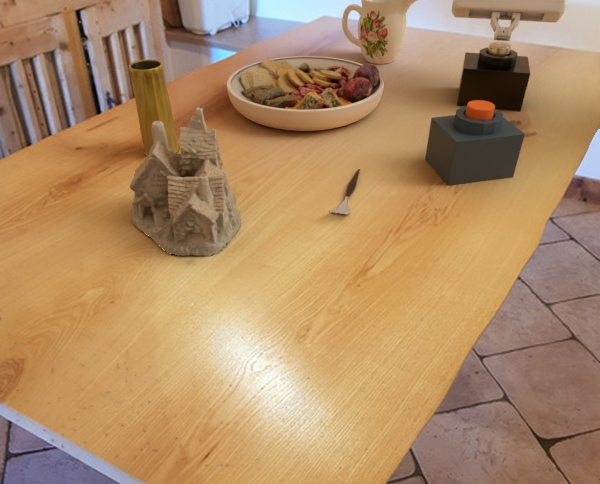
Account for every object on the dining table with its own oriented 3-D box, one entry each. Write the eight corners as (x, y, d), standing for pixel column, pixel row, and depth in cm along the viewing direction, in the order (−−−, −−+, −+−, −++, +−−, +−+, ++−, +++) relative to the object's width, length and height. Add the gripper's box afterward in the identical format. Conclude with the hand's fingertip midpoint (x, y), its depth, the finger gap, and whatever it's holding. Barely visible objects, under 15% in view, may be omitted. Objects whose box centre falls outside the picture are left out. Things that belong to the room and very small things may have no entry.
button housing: (485, 152, 92) (498, 99, 86) (513, 177, 86) (528, 122, 80) (424, 159, 91) (433, 106, 85) (447, 186, 84) (458, 129, 78)
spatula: (367, 172, 88) (368, 161, 86) (345, 225, 76) (345, 213, 75) (351, 171, 88) (351, 159, 87) (327, 223, 77) (327, 210, 75)
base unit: (518, 93, 113) (530, 46, 107) (520, 111, 105) (533, 63, 99) (458, 88, 115) (467, 42, 109) (456, 106, 108) (465, 58, 102)
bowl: (223, 140, 97) (219, 95, 92) (233, 80, 119) (230, 42, 114) (392, 136, 97) (397, 92, 92) (370, 78, 120) (373, 39, 115)
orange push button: (484, 110, 84) (487, 98, 83) (497, 120, 81) (500, 108, 80) (460, 112, 84) (462, 101, 83) (472, 123, 81) (475, 111, 80)
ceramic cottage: (148, 188, 84) (128, 93, 73) (253, 201, 82) (248, 104, 71) (105, 253, 73) (75, 152, 62) (225, 269, 71) (214, 167, 60)
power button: (508, 52, 106) (511, 42, 104) (509, 58, 103) (511, 48, 101) (487, 50, 106) (489, 41, 105) (487, 57, 103) (489, 47, 102)
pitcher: (351, 47, 137) (354, -15, 128) (419, 57, 130) (428, -8, 121) (331, 59, 130) (333, -6, 121) (402, 71, 123) (410, 3, 114)
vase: (151, 162, 91) (133, 73, 81) (138, 148, 95) (119, 62, 85) (185, 152, 93) (171, 66, 84) (171, 139, 97) (156, 55, 88)
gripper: (458, -45, 102) (446, 26, 102) (575, -41, 98) (563, 32, 98) (455, -23, 109) (444, 44, 108) (565, -18, 104) (554, 51, 104)
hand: (501, 39), depth 103 cm, fingers closed
